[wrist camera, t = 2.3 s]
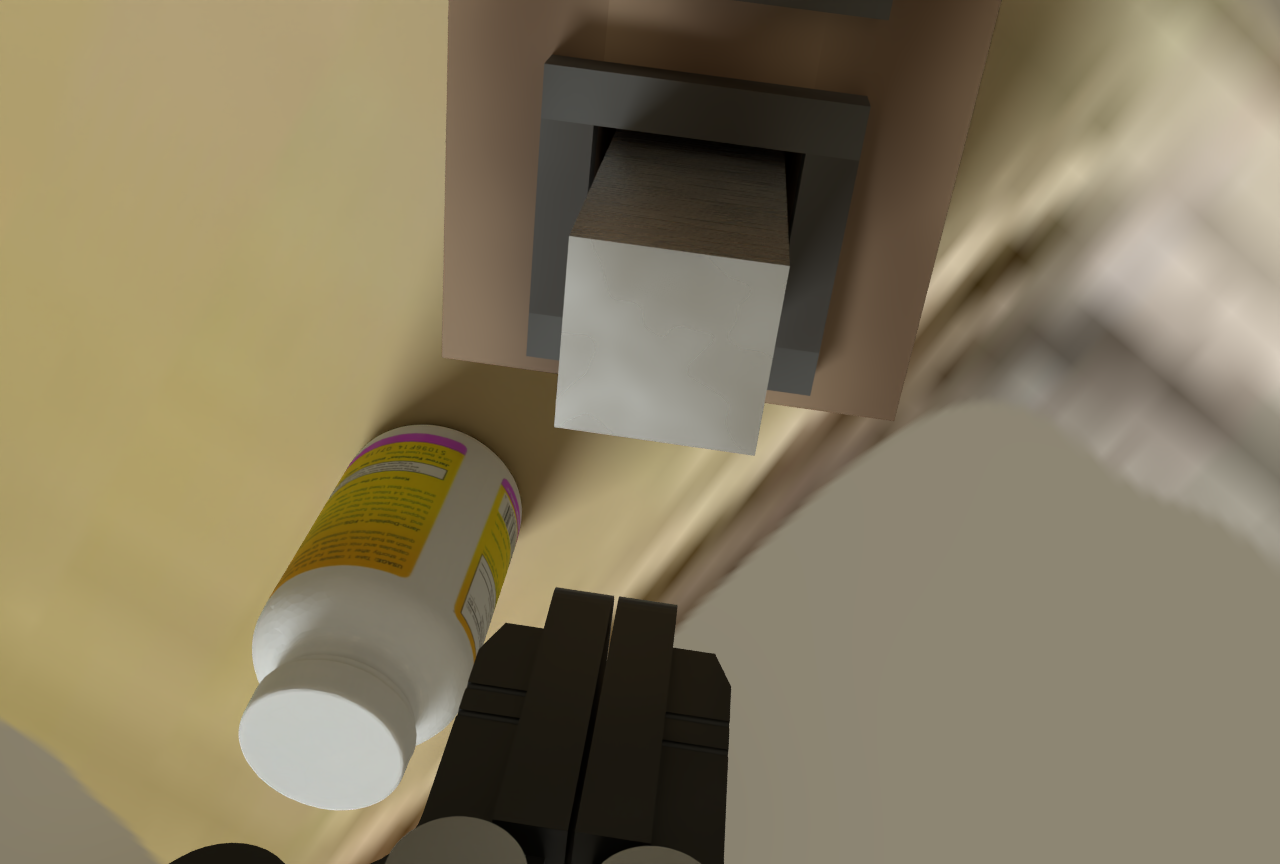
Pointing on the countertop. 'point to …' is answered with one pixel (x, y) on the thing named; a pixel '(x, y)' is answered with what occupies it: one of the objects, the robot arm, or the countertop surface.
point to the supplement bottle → (380, 617)
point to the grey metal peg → (675, 293)
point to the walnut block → (722, 112)
